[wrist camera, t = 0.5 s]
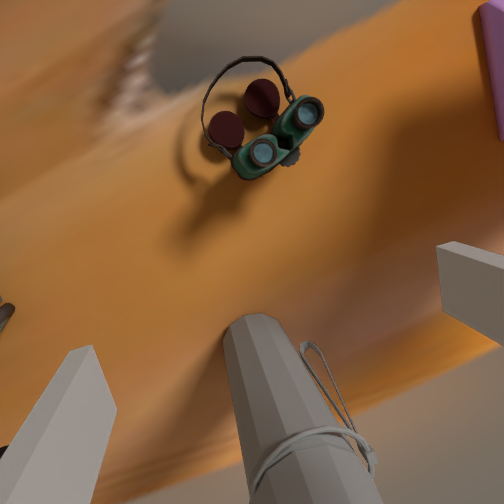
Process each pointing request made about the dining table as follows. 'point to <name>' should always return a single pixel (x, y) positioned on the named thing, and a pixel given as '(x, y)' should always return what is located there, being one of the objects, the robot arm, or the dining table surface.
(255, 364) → the water bottle
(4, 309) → the side door
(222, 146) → the binoculars
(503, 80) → the purple table lamp
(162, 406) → the dining table surface
